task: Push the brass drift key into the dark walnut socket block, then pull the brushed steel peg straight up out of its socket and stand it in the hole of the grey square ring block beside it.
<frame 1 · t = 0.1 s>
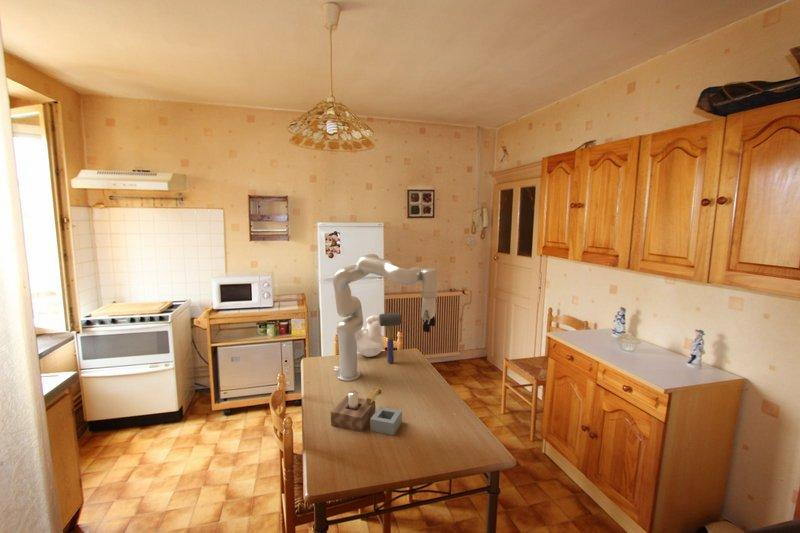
hand: (429, 328, 177), 31 cm above the table, tool pointing down, fingers open, 9 cm apart
socket block: (353, 419, 155), on the table
decorative rooster: (364, 355, 227), on the table
rubber mallet: (390, 363, 214), on the table
drift key: (373, 395, 160), point 7 cm above the table, slide at 0.0 cm
grey square ring block: (386, 426, 150), on the table
steel peg: (353, 406, 154), in the socket block
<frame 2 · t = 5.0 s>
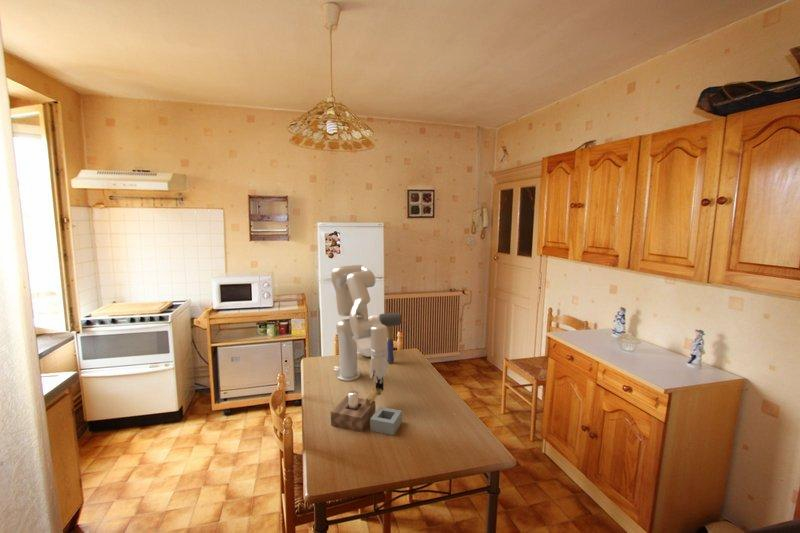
hand: (379, 390, 167), 7 cm above the table, tool pointing down, fingers closed
drift key: (373, 396, 160), point 7 cm above the table, slide at 0.6 cm, touching gripper
everything else where it was.
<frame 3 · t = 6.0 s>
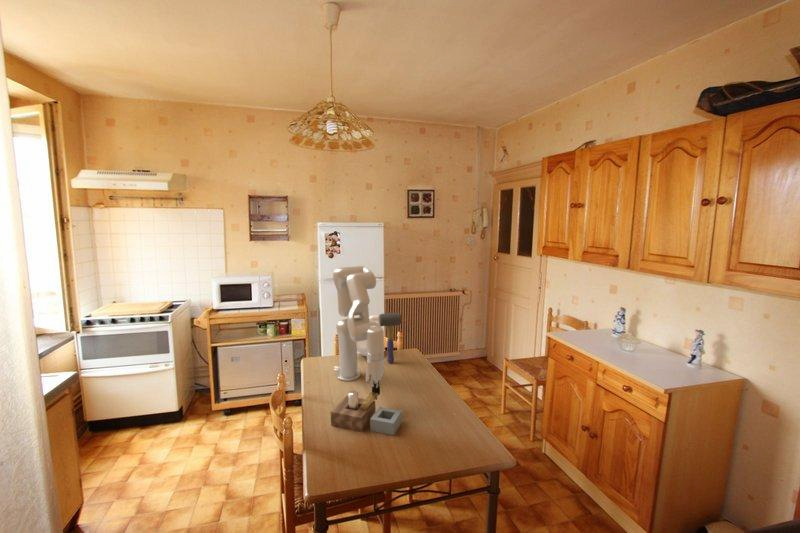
hand: (375, 394, 163), 7 cm above the table, tool pointing down, fingers closed
drift key: (369, 400, 156), point 7 cm above the table, slide at 4.8 cm, touching gripper
everything else where it was.
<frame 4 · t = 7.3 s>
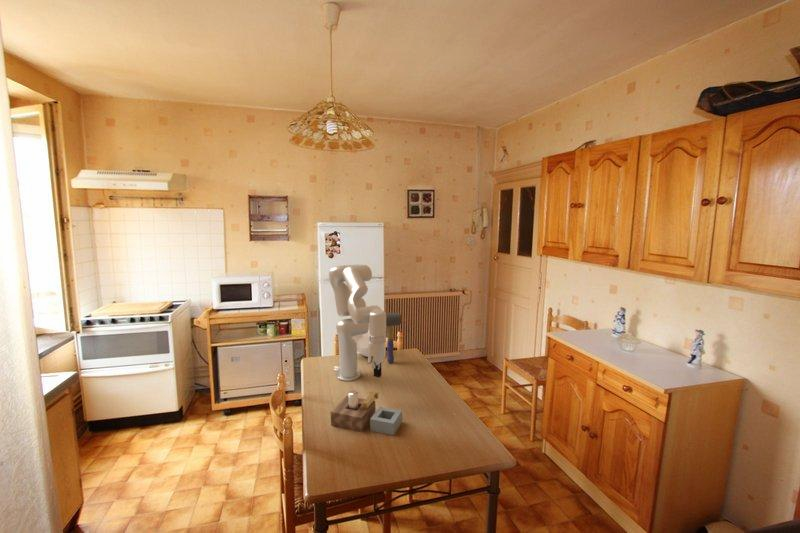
hand: (377, 376, 165), 14 cm above the table, tool pointing down, fingers closed
drift key: (369, 399, 157), point 7 cm above the table, slide at 4.1 cm
everything else where it was.
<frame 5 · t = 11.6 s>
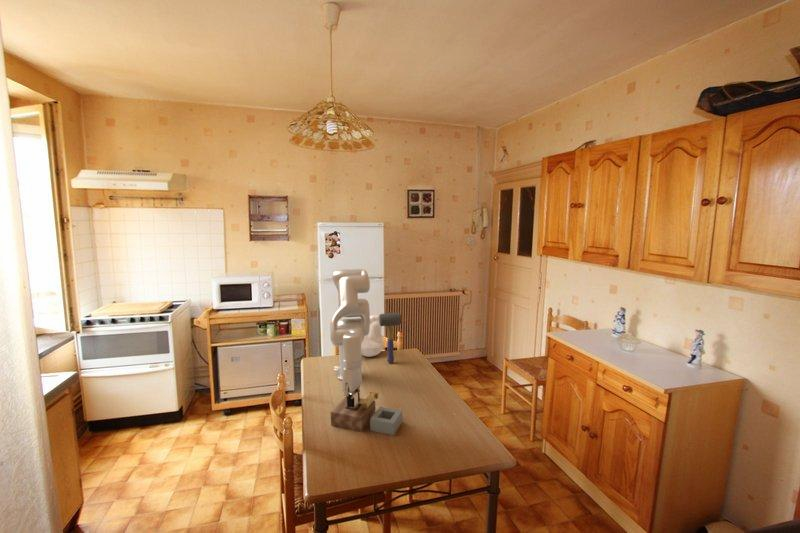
hand: (353, 403, 154), 7 cm above the table, tool pointing down, fingers closed on steel peg, 4 cm apart
steel peg: (353, 406, 154), in the socket block, touching gripper
everything else where it was.
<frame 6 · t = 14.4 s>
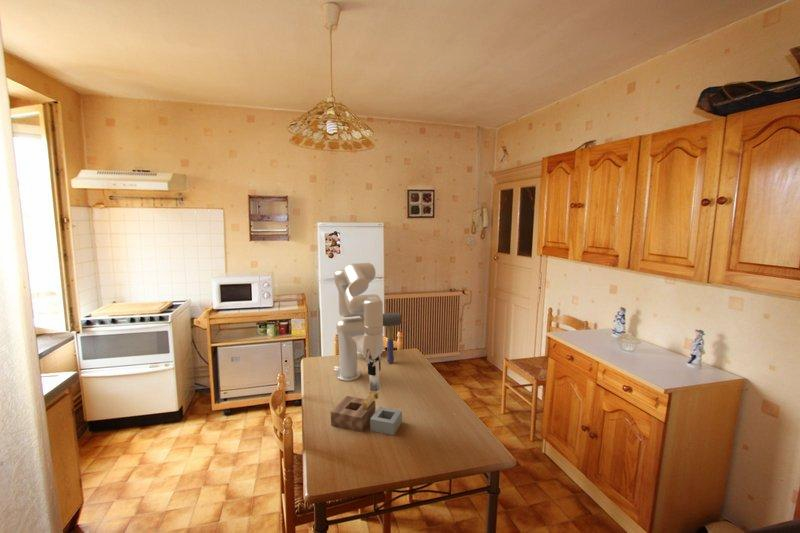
hand: (374, 372, 148), 23 cm above the table, tool pointing down, fingers closed on steel peg, 4 cm apart
steel peg: (374, 375, 149), point 21 cm above the table, touching gripper
everything else where it was.
when the fingers open (10 cm above the table, at t = 17.5 s): steel peg drops 2 cm, resting in grey square ring block.
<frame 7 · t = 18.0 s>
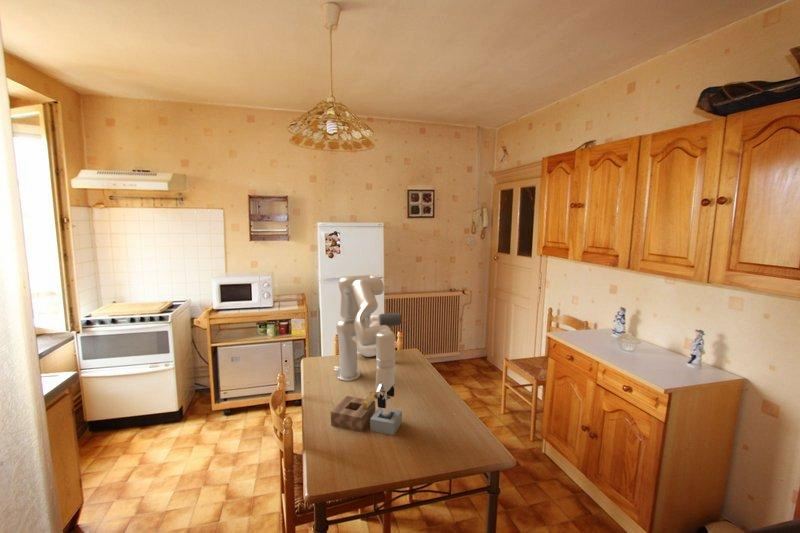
hand: (386, 401, 149), 11 cm above the table, tool pointing down, fingers open, 9 cm apart
steel peg: (386, 412, 149), in the grey square ring block
everything else where it was.
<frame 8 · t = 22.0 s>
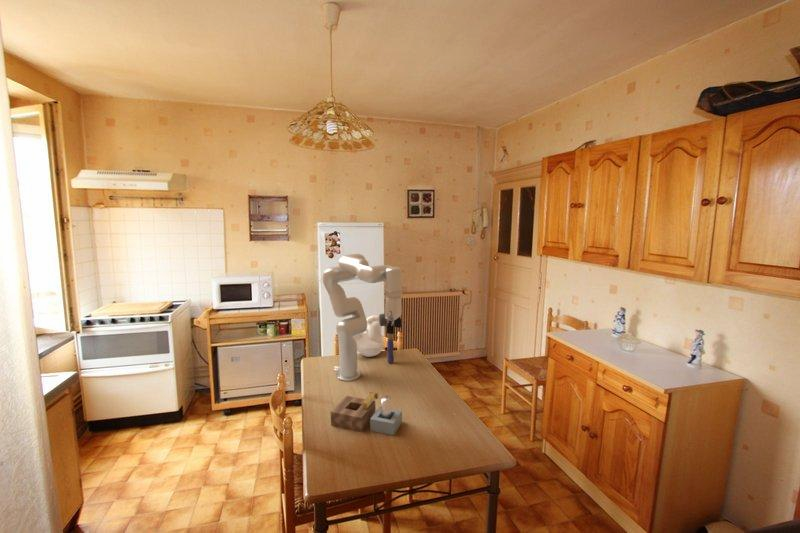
hand: (394, 330, 168), 33 cm above the table, tool pointing down, fingers open, 9 cm apart
nothing on the table moved.
at the end: drift key slide at 4.1 cm; steel peg 0.1 cm off-centre on the grey square ring block, point 6.0 cm above the grey square ring block's base; steel peg tilted 0° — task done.
